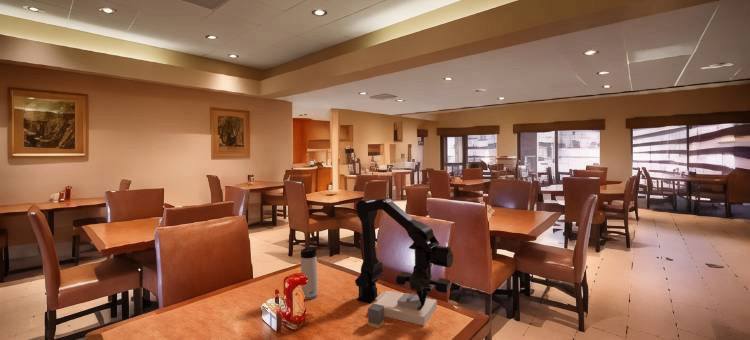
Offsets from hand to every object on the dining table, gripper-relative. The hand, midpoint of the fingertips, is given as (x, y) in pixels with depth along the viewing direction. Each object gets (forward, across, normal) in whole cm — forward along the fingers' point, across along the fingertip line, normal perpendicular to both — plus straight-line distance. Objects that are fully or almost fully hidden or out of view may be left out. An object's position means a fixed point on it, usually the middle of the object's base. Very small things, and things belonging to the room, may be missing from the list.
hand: (423, 305), depth 122 cm
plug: (+4, -12, -13) cm, 18 cm away
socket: (+4, -7, 0) cm, 8 cm away
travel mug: (+4, -46, -5) cm, 47 cm away
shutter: (0, -5, 0) cm, 5 cm away
